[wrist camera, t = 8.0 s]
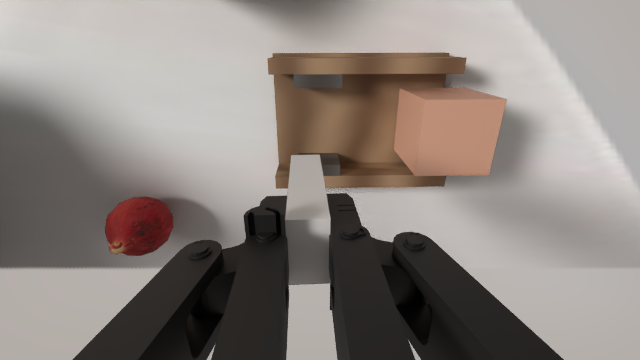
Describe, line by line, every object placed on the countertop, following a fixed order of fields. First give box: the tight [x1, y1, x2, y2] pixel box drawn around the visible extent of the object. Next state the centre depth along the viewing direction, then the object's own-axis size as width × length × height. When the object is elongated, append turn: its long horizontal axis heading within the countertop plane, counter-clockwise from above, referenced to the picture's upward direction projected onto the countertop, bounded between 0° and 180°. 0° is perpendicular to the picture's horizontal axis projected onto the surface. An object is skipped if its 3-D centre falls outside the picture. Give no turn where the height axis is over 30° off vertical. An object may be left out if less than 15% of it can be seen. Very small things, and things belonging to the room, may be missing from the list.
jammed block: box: [394, 88, 507, 176], centre depth 27 cm, size 6×6×7 cm
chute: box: [268, 53, 466, 188], centre depth 29 cm, size 16×12×4 cm
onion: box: [105, 197, 173, 256], centre depth 31 cm, size 6×6×8 cm
